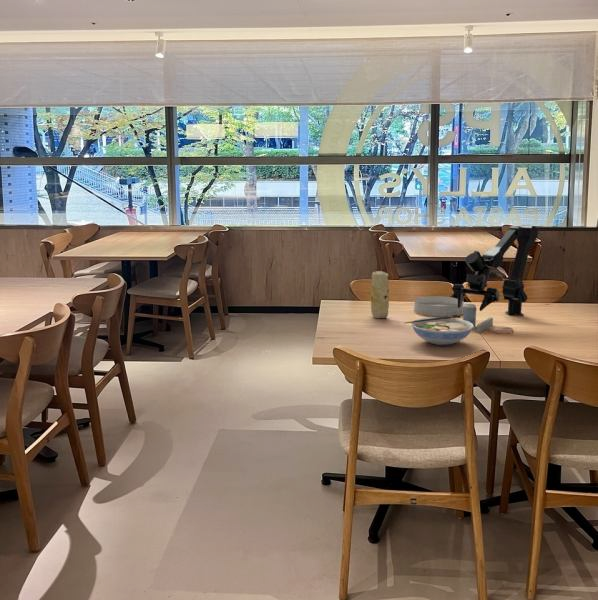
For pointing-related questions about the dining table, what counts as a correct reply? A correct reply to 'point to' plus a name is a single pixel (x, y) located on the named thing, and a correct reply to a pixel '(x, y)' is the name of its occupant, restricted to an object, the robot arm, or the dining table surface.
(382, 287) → the food model
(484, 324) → the acrylic divider
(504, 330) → the coaster
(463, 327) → the ramen bowl
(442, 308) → the dish
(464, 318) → the salt shaker
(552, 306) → the dining table surface
